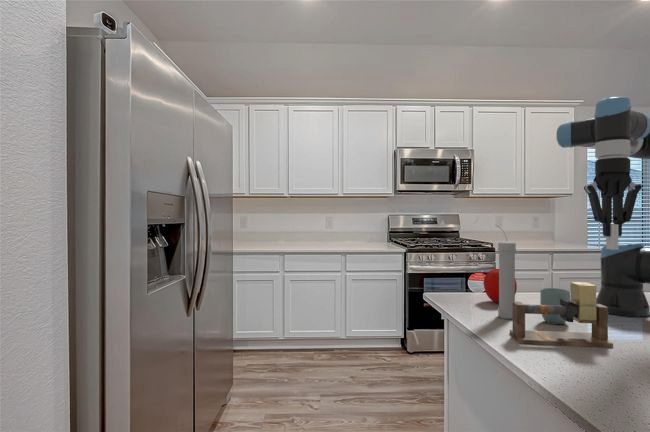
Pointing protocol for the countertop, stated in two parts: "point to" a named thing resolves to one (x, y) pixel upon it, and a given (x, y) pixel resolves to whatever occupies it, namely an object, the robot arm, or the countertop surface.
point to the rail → (559, 338)
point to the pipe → (506, 278)
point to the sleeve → (584, 301)
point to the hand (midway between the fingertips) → (612, 249)
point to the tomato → (493, 285)
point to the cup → (553, 302)
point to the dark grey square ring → (569, 310)
